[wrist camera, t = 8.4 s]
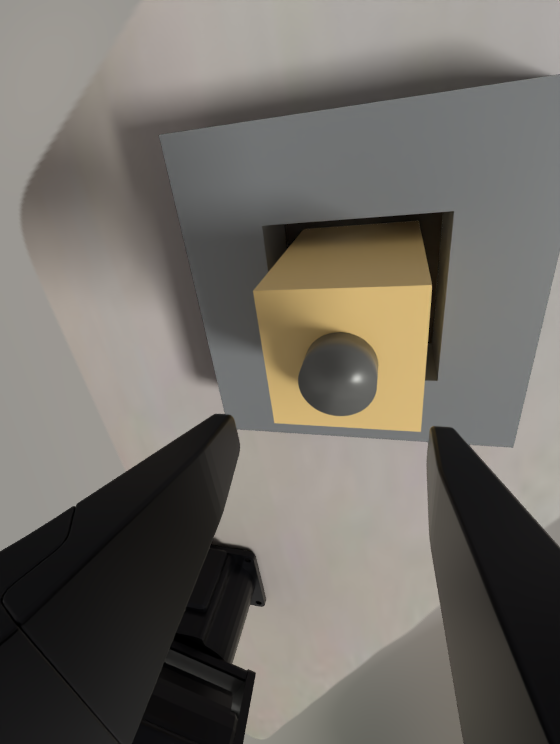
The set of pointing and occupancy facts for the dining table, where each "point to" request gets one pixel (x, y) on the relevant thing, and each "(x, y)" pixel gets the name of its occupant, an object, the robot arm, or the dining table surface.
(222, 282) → the socket
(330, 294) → the plug
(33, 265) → the dining table surface
